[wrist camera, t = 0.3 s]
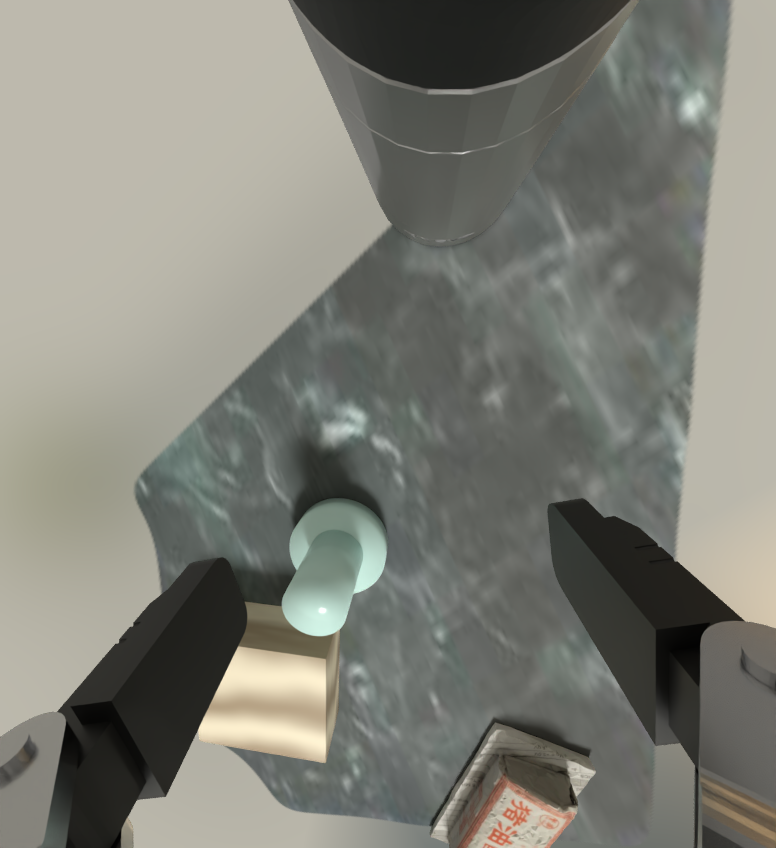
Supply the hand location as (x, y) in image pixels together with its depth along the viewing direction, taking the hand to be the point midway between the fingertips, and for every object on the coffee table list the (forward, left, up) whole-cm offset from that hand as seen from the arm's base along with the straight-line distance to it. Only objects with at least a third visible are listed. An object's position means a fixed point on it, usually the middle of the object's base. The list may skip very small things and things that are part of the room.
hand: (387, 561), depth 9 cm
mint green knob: (+13, -5, -19) cm, 24 cm away
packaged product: (+41, +12, -20) cm, 47 cm away
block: (+27, -11, -20) cm, 35 cm away
